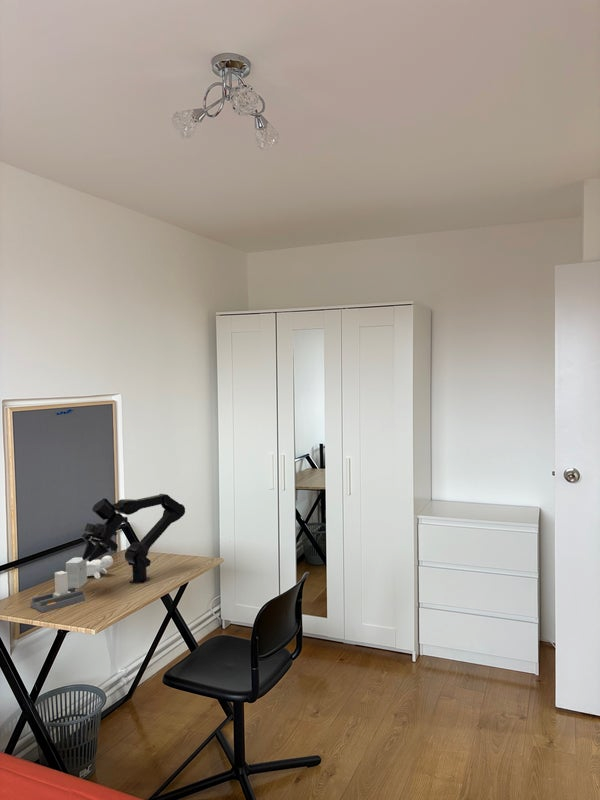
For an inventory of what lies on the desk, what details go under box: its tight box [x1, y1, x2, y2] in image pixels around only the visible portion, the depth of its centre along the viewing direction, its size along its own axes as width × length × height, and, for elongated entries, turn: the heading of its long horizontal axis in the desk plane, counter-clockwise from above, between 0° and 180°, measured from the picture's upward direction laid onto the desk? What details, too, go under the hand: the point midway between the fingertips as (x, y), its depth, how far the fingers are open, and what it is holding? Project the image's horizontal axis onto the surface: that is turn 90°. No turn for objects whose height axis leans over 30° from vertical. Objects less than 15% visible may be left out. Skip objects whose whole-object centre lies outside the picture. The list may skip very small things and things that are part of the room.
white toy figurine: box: [86, 555, 114, 580], centre depth 262 cm, size 9×8×15 cm
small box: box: [65, 557, 88, 589], centre depth 249 cm, size 8×6×10 cm
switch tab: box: [53, 570, 71, 597], centre depth 228 cm, size 5×4×9 cm
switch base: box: [30, 587, 86, 613], centre depth 227 cm, size 16×10×4 cm, turn 137°
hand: (85, 560), depth 235 cm, fingers open, 4 cm apart
